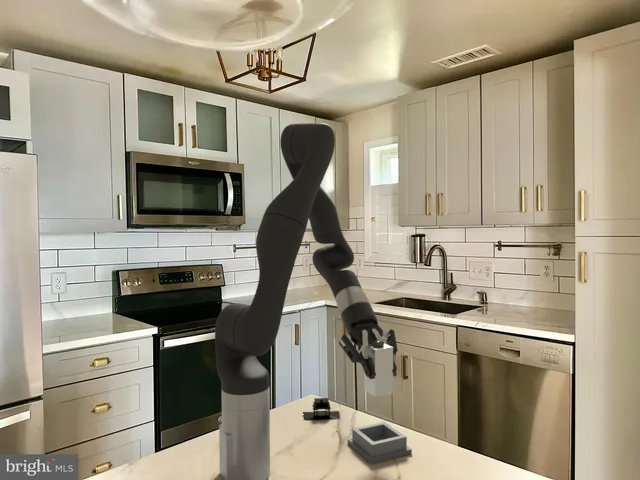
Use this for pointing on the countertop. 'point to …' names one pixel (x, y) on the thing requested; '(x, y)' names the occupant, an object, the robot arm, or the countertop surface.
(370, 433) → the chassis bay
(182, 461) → the countertop surface
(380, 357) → the knobbed grey block
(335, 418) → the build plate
